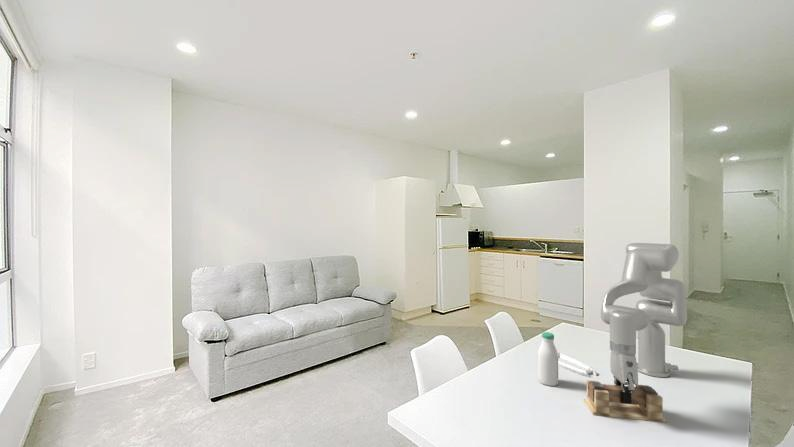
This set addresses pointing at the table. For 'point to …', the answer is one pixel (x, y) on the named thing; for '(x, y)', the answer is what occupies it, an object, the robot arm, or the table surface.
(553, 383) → the milk bottle
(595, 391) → the wooden cradle stand
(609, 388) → the rail
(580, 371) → the door handle
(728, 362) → the table surface
